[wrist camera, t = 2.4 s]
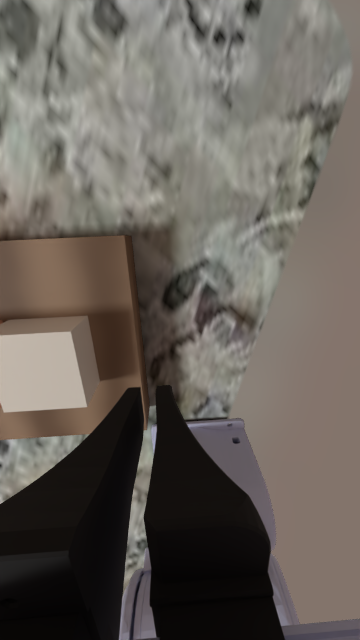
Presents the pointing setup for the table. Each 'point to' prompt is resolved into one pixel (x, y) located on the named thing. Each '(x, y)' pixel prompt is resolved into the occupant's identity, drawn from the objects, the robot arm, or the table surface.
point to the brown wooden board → (77, 300)
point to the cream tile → (47, 364)
